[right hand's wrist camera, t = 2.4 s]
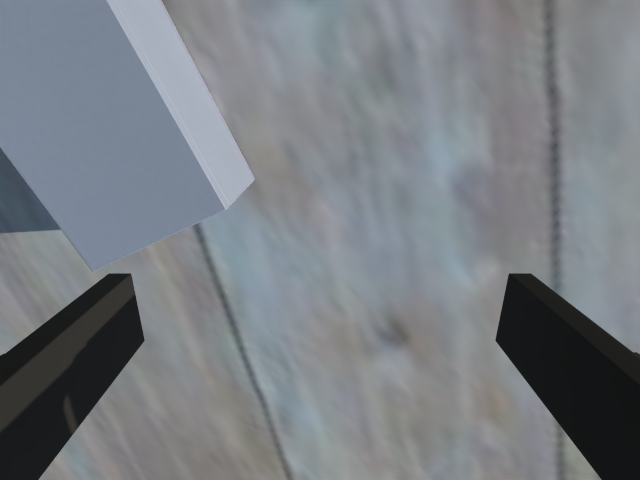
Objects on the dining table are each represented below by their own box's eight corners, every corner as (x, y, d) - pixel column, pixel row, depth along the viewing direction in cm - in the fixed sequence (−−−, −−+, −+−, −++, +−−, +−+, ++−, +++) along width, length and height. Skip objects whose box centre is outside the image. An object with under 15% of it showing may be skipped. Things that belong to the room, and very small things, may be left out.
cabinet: (9, -10, 27) (-171, -80, 17) (120, -79, 25) (-7, -200, 16) (160, 224, 33) (92, 272, 23) (255, 179, 32) (226, 209, 22)
